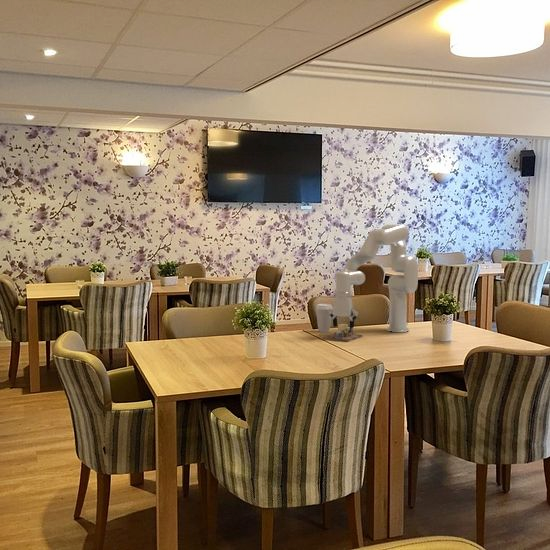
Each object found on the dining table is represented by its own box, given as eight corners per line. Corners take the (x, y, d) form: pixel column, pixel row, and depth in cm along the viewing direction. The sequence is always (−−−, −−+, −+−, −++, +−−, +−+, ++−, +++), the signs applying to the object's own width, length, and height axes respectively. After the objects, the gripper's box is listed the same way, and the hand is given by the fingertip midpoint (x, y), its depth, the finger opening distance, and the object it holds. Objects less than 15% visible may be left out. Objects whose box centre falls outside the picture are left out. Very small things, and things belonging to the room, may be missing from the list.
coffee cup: (312, 330, 352) (312, 304, 350) (327, 329, 356) (327, 303, 354) (320, 333, 343) (320, 306, 342) (335, 332, 347) (335, 305, 346)
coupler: (340, 334, 332) (341, 323, 332) (348, 335, 330) (348, 324, 329) (337, 335, 329) (337, 324, 329) (345, 336, 327) (345, 325, 326)
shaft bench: (338, 334, 341) (339, 325, 341) (362, 336, 333) (362, 328, 333) (322, 339, 326) (322, 330, 326) (346, 342, 318) (347, 333, 318)
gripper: (325, 295, 329) (325, 327, 331) (355, 296, 320) (355, 329, 321) (332, 293, 336) (332, 324, 337) (361, 295, 326) (361, 327, 328)
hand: (343, 327), depth 329 cm, fingers open, 9 cm apart
